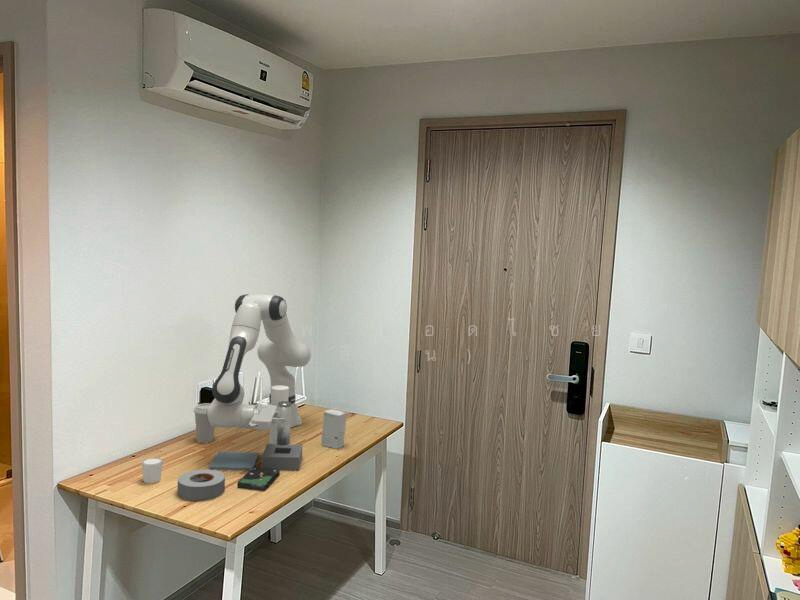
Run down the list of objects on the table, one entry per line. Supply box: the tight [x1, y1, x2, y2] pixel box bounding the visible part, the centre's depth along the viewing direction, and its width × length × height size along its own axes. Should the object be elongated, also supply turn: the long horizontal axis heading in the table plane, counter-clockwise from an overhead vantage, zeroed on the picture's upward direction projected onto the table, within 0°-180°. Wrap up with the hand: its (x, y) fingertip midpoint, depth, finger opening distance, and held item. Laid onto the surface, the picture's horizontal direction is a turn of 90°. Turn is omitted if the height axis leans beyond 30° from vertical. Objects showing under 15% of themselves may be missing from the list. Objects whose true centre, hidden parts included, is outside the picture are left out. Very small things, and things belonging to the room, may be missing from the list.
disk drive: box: [236, 466, 281, 492], centre depth 214 cm, size 10×3×15 cm
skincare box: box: [320, 409, 348, 450], centre depth 254 cm, size 8×6×15 cm
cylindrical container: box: [268, 385, 289, 444], centre depth 249 cm, size 7×7×25 cm
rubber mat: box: [208, 451, 260, 471], centre depth 231 cm, size 16×16×1 cm
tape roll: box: [176, 468, 226, 502], centre depth 203 cm, size 15×15×5 cm
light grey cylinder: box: [141, 457, 164, 484], centre depth 209 cm, size 7×7×7 cm
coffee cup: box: [193, 402, 215, 444], centre depth 251 cm, size 10×10×15 cm
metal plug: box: [277, 401, 291, 445], centre depth 231 cm, size 5×5×16 cm
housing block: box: [260, 443, 303, 471], centre depth 232 cm, size 14×14×5 cm
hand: (286, 417), depth 231 cm, fingers closed on metal plug, 5 cm apart
